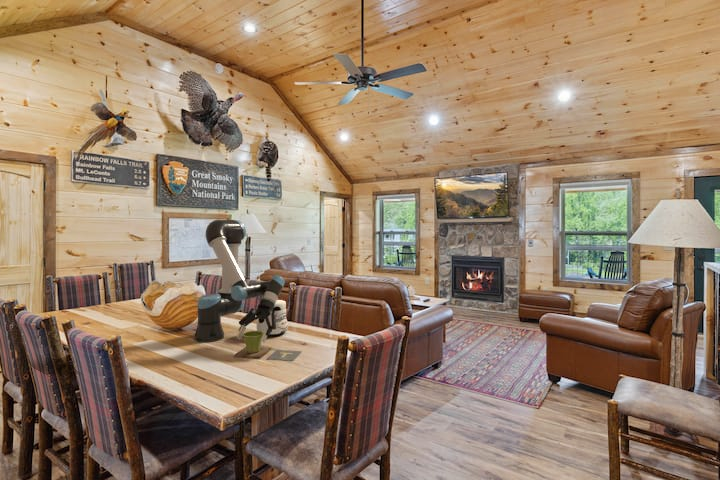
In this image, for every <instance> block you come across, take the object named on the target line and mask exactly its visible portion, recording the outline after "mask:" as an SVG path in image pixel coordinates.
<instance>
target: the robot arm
mask: <svg viewBox="0 0 720 480" xmlns="http://www.w3.org/2000/svg"><path fill="white" fill-rule="evenodd" d="M246 236H247V229H246V226H245V224H244V223H243V222H242V221H241V220H237V219H236V220H235V219H214V220H212V221H211V222H210V223H209V224H208V225H207V226H206V229H205V239H206V243H207V244H208V246H209V248H212V250H213V252H214V253H215V256H216V258H217V259H218V261H219V264H220V265H221V288H220V289H219V290H218V293H210V294H205V295H202V296H200V297H199V298H198V299H197V305H196V306H197V327H196V330H195V332H194V336H193V337H194V338H193V339H194V341H195V342H198V343H210V342H216V341H219V340H222V339H224V338H225V332H224V329H223V327H222V322H221V321H222V320H221V319H222V318H221V317H224V316H229V315H234V314H236V313H238V312H239V313H240V311H242V309H243V308H244V305H245V300H249V299H253V298H257V297H261V299H260V301H259V302H260V303H259V302H258V304H259V305H257V308H256V309H254V307H251V308H250V310H249V312H248V313H246V314H245V315H244V316H243V317H242V318H241V319H240V320H239V321H238V324H239V326H240V327H239V328H238V332H237V335H236V338H237V339H238V340H240V341H241V339H242V338H243V337H242V336H243V334H244V333H245V331H246V329H247V326H249V325H250V324H251V323H253V322H255V321H256V320H257V321H258V319H265V320H266V323H267V325H268V328H266V329H265V331H264V334H263V335H262V338H261V343H264V344H265V342H266V340H267V338H268V337H269V335H270V332H271V330H273V329H274V330H275V329H276V312H275V310H273V308H274V305H275V304H276V301H277V300H279V297H280V294H281V292H282V290H283V288H284V286H285V283H286V282H285V279H284V278H283V277H282V276H281V275H277V274H276V275H273V276H272V277H271V278H270V280H265V281H255V282H252V283H248V282H247V279H246V278H245V275H244V274H243V272H242V270H241V268H240V266H239V247H240V246H241V245H242V241H243V240H244V239H245V237H246ZM272 310H273V311H272ZM269 315H271V318H272V326H271V324H270V321H269V317H268V316H269Z"/></svg>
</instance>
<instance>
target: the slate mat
mask: <svg viewBox="0 0 720 480" xmlns="http://www.w3.org/2000/svg"><path fill="white" fill-rule="evenodd" d="M301 353H303V351H301V350H287V349H286V350H285V349H276V350H275V351H274V352H272V353H271V354H270V355H269V356H268V357H266V360H273V361H274V360H275V361H289V362H294V361H295V360H296V359H297V358H298V357H299V356H300V355H301Z"/></svg>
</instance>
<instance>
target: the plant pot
mask: <svg viewBox="0 0 720 480" xmlns="http://www.w3.org/2000/svg"><path fill="white" fill-rule="evenodd" d="M242 336H243V338H244V340H245V341H244V342H245V347H246V349H247V352H248V353H255V352H259V351H260V347H262V346H261V345H262V341H261V338H262V336H263V332H261V331H257V330H251V331H246V332H244V333H243V335H242Z"/></svg>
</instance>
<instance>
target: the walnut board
mask: <svg viewBox="0 0 720 480" xmlns="http://www.w3.org/2000/svg"><path fill="white" fill-rule="evenodd" d="M271 351H272V348H271V347H264V346H260V351H259V352H255V353H248V352H247V349H246V346H245V347H243V348H242V349H241V350H239V351H237V352H236V353H234V355H233V357H234V358H241V359H242V358H244V359H254V360H255V359H257V360H258V359H259V360H261V359H262V358H264V356H266V355H267V354H268V353H270V352H271Z"/></svg>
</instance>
